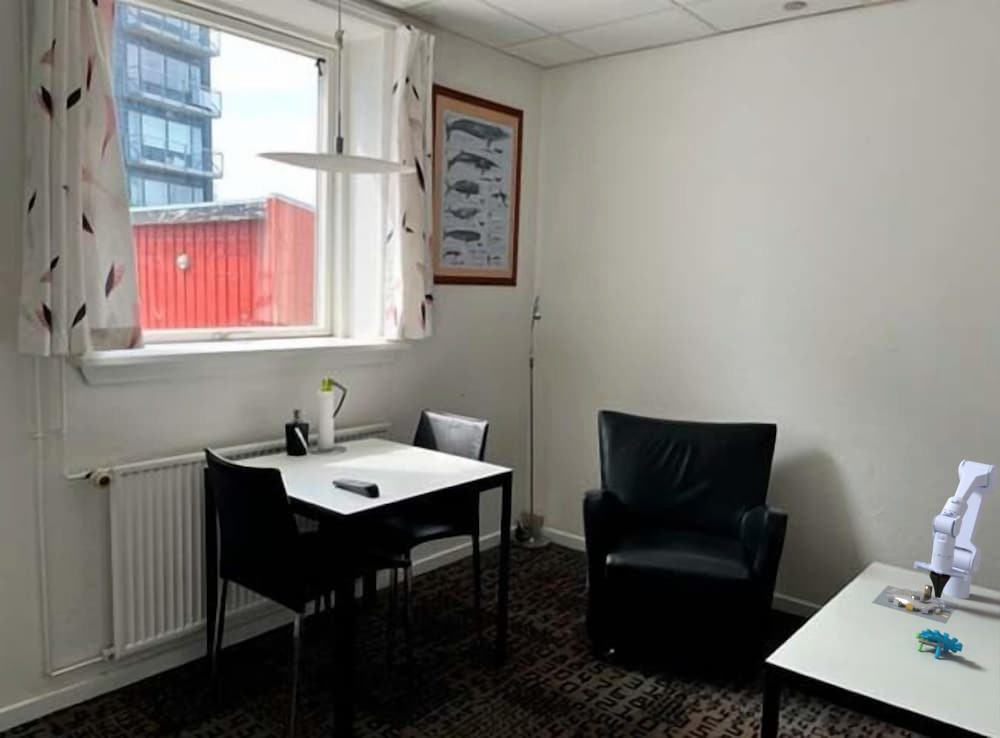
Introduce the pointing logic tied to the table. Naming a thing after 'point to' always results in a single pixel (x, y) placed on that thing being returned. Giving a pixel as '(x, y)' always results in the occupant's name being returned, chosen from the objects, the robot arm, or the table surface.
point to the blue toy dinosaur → (938, 641)
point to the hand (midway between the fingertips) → (937, 596)
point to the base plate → (939, 617)
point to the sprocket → (916, 600)
